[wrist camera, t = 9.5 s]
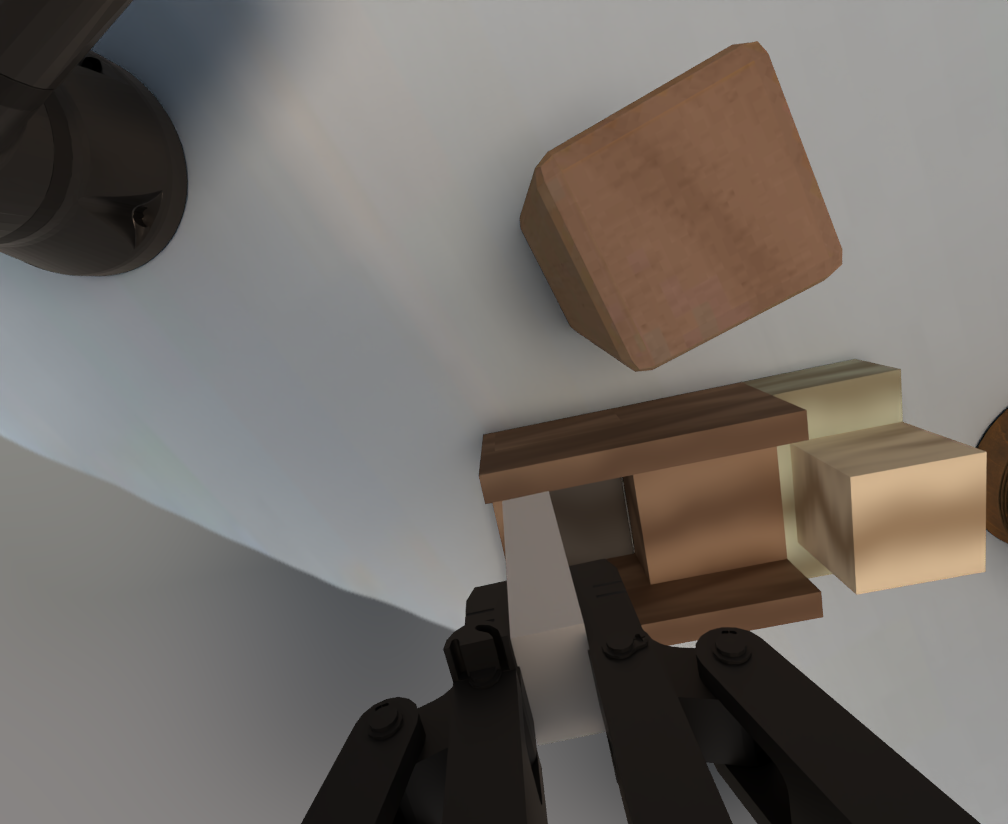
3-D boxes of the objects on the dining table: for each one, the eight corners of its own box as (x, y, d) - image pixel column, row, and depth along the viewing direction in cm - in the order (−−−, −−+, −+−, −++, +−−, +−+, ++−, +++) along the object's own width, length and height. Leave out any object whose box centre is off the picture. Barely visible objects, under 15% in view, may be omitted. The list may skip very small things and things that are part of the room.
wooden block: (636, 147, 39) (768, 18, 20) (692, 273, 41) (862, 268, 22) (513, 217, 40) (526, 159, 21) (574, 336, 42) (637, 384, 23)
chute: (483, 434, 44) (478, 475, 35) (855, 358, 43) (952, 380, 34) (519, 595, 48) (524, 671, 39) (865, 530, 46) (955, 592, 37)
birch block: (789, 443, 39) (850, 477, 33) (901, 421, 39) (986, 451, 32) (797, 542, 41) (856, 594, 34) (904, 523, 41) (985, 571, 34)
